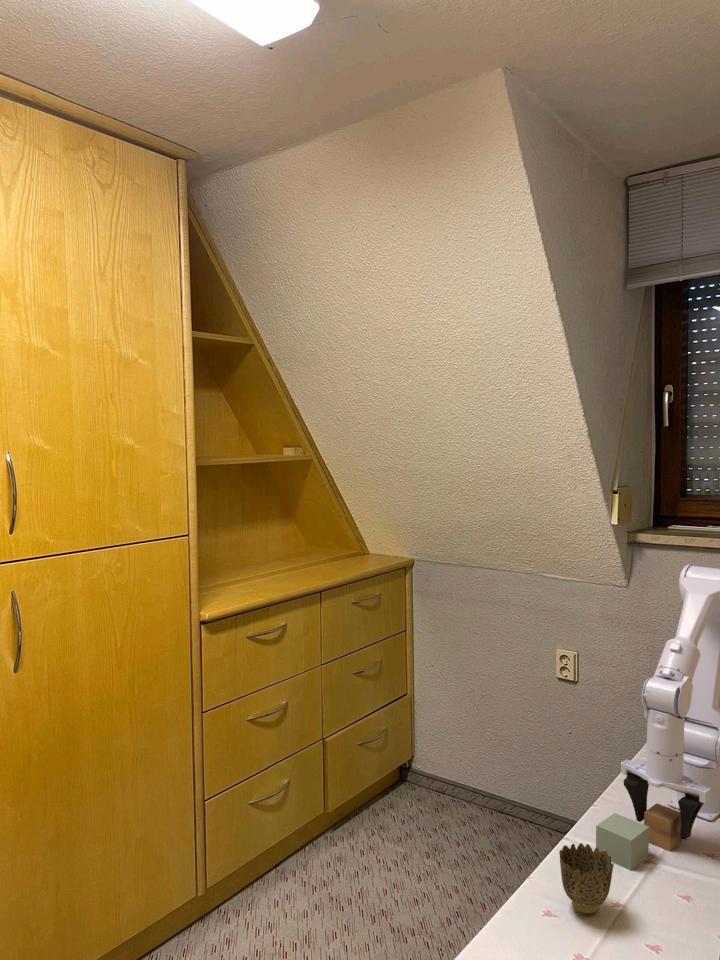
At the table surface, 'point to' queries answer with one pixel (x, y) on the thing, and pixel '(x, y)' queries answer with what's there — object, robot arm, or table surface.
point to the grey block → (623, 840)
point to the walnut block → (663, 826)
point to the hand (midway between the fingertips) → (662, 828)
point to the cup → (586, 877)
